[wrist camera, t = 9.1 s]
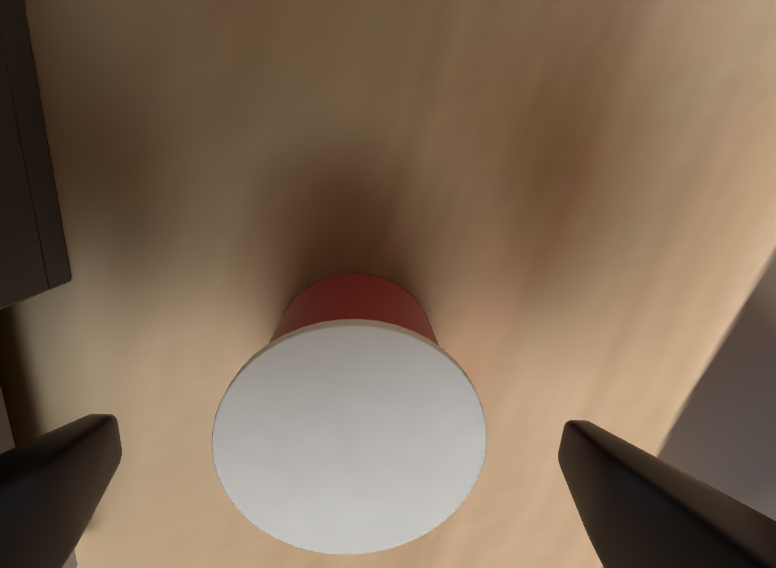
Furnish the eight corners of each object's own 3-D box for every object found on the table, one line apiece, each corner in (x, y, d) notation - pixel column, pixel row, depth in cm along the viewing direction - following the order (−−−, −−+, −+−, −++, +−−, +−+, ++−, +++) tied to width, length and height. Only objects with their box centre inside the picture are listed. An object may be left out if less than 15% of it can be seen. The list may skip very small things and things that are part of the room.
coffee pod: (433, 422, 13) (469, 553, 9) (268, 420, 12) (219, 557, 8) (450, 266, 11) (505, 329, 7) (264, 257, 11) (201, 319, 7)
